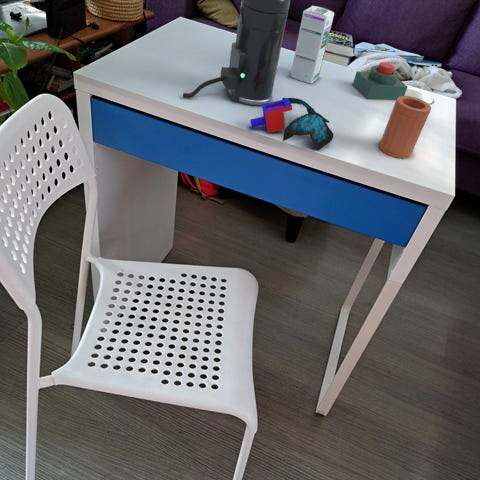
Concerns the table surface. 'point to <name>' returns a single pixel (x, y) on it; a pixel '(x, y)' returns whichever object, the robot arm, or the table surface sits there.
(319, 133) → the butterfly
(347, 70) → the table surface
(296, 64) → the syrup box
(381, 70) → the button
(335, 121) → the table surface
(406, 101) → the jar
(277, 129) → the toy building block
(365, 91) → the green button base
